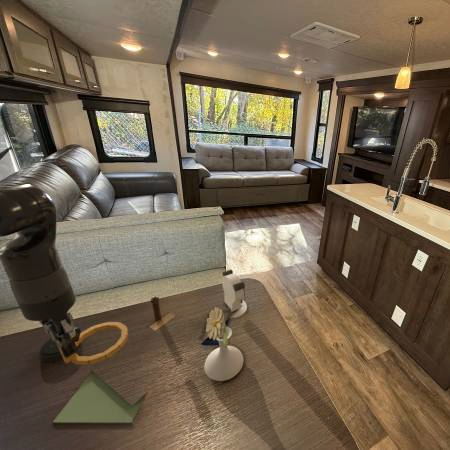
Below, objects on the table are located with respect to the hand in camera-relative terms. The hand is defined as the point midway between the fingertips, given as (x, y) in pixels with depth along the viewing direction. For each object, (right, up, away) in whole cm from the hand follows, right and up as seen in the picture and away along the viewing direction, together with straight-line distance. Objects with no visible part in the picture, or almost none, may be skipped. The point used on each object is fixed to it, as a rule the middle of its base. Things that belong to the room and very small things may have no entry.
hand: (69, 352), depth 54 cm
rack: (0, -7, +34) cm, 35 cm away
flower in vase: (+28, -16, +21) cm, 38 cm away
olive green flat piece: (+1, -17, +11) cm, 20 cm away
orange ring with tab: (+2, -1, +6) cm, 6 cm away
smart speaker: (-21, -11, +21) cm, 32 cm away
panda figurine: (+24, -5, +44) cm, 50 cm away
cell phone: (+21, -9, +34) cm, 41 cm away
